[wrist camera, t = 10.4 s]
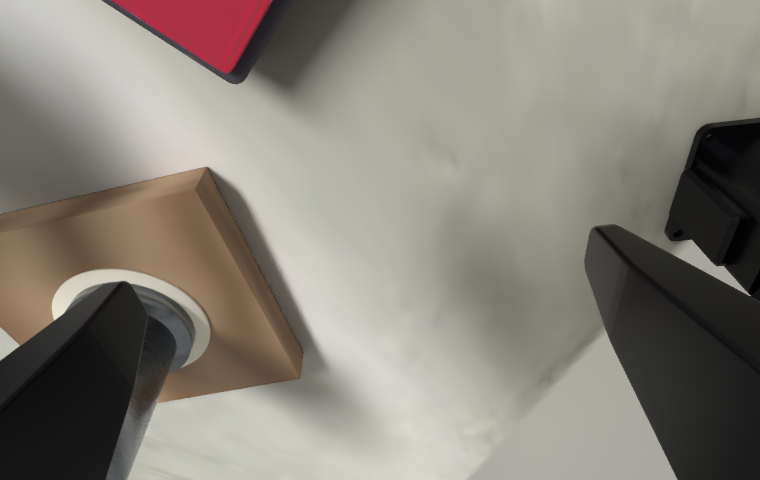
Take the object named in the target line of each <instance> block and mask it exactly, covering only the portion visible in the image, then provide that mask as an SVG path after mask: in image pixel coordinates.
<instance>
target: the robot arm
mask: <svg viewBox="0 0 760 480" xmlns="http://www.w3.org/2000/svg"><path fill="white" fill-rule="evenodd" d="M710 133H712V134H711V136H710V137H708V138H706V137H707V135H709V134H710ZM669 213H670V215H669V218H668V222H667V225H666V228H665V234H666V236H667V237H668V238H669V239H670V240H671V241H682V240H693V241H694V242H695V243H696V245H697V246H698V247H699V248H700V249H701V250H702V251H703V253H704V254H705V255H706V256H707V257H708V258H709V259H710V261H711V262H713V264H715V265H716V266H724V267H725V268H726V269H727V270H728V271H729V272H730V273H731V275H732V276H733V277H734V278H735V279H736V280H737V281H738V282H739V284H740V285H741V286H742V287H743V288H744V289H745V290H746V291H747V292H748V293H749V294H750V295H751V296H748V295H747V294H745V293H743V292H741V291H739V290H737V289H735V288H733V287H732V286H730V285H728V284H726V283H724V282H722V281H720V280H719V279H717V278H715V277H713V276H711V275H709V274H707V273H706V272H704V271H702V270H700V269H698V268H696V267H694V266H692V265H691V264H689V263H687V262H685V261H683V260H681V259H679V258H678V257H676V256H674V255H672V254H670V253H668V252H666V251H665V250H663V249H661V248H659V247H657V246H655V245H653V244H652V243H650V242H648V241H646V240H644V239H642V238H640V237H638V236H637V235H635V234H633V233H631V232H629V231H627V230H625V229H624V228H622V227H620V226H618V225H615V224H609V225H600V226H595V227H593V228H592V229H591V231H590V234H589V239H588V244H587V249H586V254H585V260H584V264H585V271H586V274H587V277H588V280H589V282H590V285H591V288H592V291H593V294H594V297H595V300H596V303H597V306H598V309H599V311H600V314H601V317H602V320H603V323H604V326H605V329H606V331H607V334H608V337H609V339H610V341H611V344H612V346H613V348H614V350H615V352H616V354H617V356H618V358H619V361H620V363H621V365H622V367H623V368H624V371H625V373H626V375H627V377H628V379H629V381H630V383H631V385H632V387H633V389H634V391H635V393H636V395H637V397H638V400H639V402H640V404H641V406H642V408H643V410H644V412H645V414H646V416H647V418H648V420H649V422H650V424H651V426H652V428H653V430H654V432H655V434H656V436H657V438H658V441H659V443H660V445H661V447H662V449H663V451H664V453H665V455H666V457H667V459H668V461H669V463H670V465H671V467H672V469H673V471H674V473H675V475H676V477H677V479H678V480H760V118H755V119H746V120H737V121H728V122H719V123H710V124H706V125H704V126H702V127H701V128H700V129H699V130H698V131H697V133H696V135H695V138H694V141H693V144H692V147H691V150H690V153H689V156H688V159H687V163H686V166H685V169H684V171H683V173H682V175H681V178H680V181H679V184H678V187H677V190H676V193H675V197H674V200H673V203H672V206H671V209H670V212H669ZM677 230H678V231H677ZM676 231H677V232H676ZM674 232H675V233H674ZM147 320H148V316H147V311H146V308H145V306H144V305H143V303H142V301H141V300H140V298H139V296H138V295H137V293H136V291H135V290H134V288H133V287H132V285H131V284H130V283H129V282H127V281H116V282H108V283H105V284H103V285H101V286H100V287H99V288H97V289H96V290H95V291H93V292H92V293H91V294H89V295H88V296H87V297H85V298H84V299H83V300H81V301H80V302H79V303H77V304H76V305H75V306H73V307H72V308H71V309H69V310H68V311H67V312H65V313H64V314H62V315H61V316H60V317H58V318H57V319H56V320H54V321H53V322H52V323H50V324H49V325H48V326H46V327H45V328H44V329H42V330H41V331H40V332H38V333H37V334H36V335H34V336H33V337H32V338H30V339H29V340H28V341H26V342H25V343H23V344H22V345H21V346H19V347H18V348H17V349H15V350H14V351H13V352H11V353H10V354H9V355H7V356H6V357H5V358H3V359H2V360H1V361H0V480H106V478H107V475H108V471H109V468H110V465H111V462H112V459H113V455H114V452H115V449H116V446H117V443H118V439H119V436H120V433H121V430H122V427H123V423H124V420H125V417H126V414H127V411H128V407H129V404H130V401H131V397H132V394H133V390H134V386H135V382H136V378H137V372H138V367H139V362H140V357H141V352H142V347H143V341H144V336H145V331H146V326H147Z"/></svg>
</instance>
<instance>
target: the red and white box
mask: <svg viewBox="0 0 760 480" xmlns="http://www.w3.org/2000/svg"><path fill="white" fill-rule="evenodd" d="M102 1H103V2H105V3H107V4H108V5H110V6H111V7H113V8H114V9H116V10H117V11H119V12H120V13H122V14H124V15H125V16H127V17H128V18H130V19H131V20H133V21H134V22H136V23H137V24H139V25H141V26H142V27H144V28H145V29H147V30H148V31H150V32H151V33H153V34H154V35H156V36H158V37H159V38H161V39H162V40H164V41H165V42H167V43H168V44H170V45H171V46H173V47H175V48H176V49H178V50H179V51H181V52H182V53H184V54H185V55H187V56H188V57H190V58H192V59H193V60H195V61H196V62H198V63H199V64H201V65H202V66H204V67H205V68H207V69H209V70H210V71H212V72H213V73H215V74H216V75H218V76H219V77H221V78H222V79H224V80H226V81H227V82H229V83H232V84H239V83H241V82H243V81H244V80H245V78H246V77H247V76H248V74H249V72H250V71H251V69H252V67H253V66H254V64H255V62H256V61H257V59H258V57H259V56H260V54H261V52H262V51H263V49H264V47H265V45H266V44H267V42H268V40H269V39H270V37H271V35H272V34H273V32H274V30H275V29H276V27H277V25H278V24H279V22H280V20H281V19H282V17H283V15H284V14H285V12H286V10H287V8H288V7H289V5H290V3H291V2H292V0H102Z"/></svg>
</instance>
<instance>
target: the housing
mask: <svg viewBox="0 0 760 480" xmlns="http://www.w3.org/2000/svg"><path fill="white" fill-rule="evenodd" d="M103 284H105V283H102V284H98V285H94V286H91V287H88V288H86V289H84V290H83V291H81V292H80V293H79V294H77V296H76V297H75V298H74V299H73V301H72V302H71V303H70V305H69V306H68V308H67V309H66V311H65V312H67V311H68V310H69V309H71V308H72V307H73V306H75V305H76V304H77V303H79V302H80V301H81V300H83V299H84V298H85V297H87V296H88V295H89V294H91V293H92V292H93V291H95V290H96V289H97V288H99V287H100V286H101V285H103ZM131 285H132V287H133V288H134V290H135V291H136V293H137V295H138V296H139V298H140V300H141V301H142V303H143V305H144V306H145V308H146V311H147V316H148V320H147V326H146V331H145V336H144V341H143V347H142V352H141V357H140V362H139V367H138V372H137V378H136V382H135V386H134V390H133V394H132V397H131V401H130V404H129V407H128V411H127V414H126V417H125V420H124V423H123V427H122V430H121V433H120V436H119V439H118V443H117V446H116V449H115V452H114V455H113V459H112V462H111V465H110V468H109V471H108V475H107V478H106V480H127V479H128V476H129V473H130V471H131V468H132V466H133V463H134V460H135V458H136V455H137V453H138V450H139V447H140V445H141V442H142V440H143V437H144V434H145V432H146V429H147V427H148V424H149V421H150V419H151V416H152V414H153V411H154V408H155V406H156V403H157V401H158V398H159V396H160V393H161V390H162V388H163V385H164V383H165V380H166V377H167V375H168V374H170V373H172V372H174V371H176V370H178V369H179V368H181V367H182V366H183V365H184V364H185V363H186V361H187V359H188V358H189V355H190V352H191V349H192V347H193V344H194V341H195V335H196V332H195V327H194V324H193V321H192V319H191V318H190V316H189V315H188V313H187V312H186V311H185V310H184V309H183V308H182V307H181V306H180V305H179V304H178V303H176V302H175V301H174V300H172V299H171V298H169V297H167V296H166V295H164V294H162V293H160V292H157V291H155V290H153V289H150V288H147V287H144V286H140V285H135V284H131ZM65 312H64V313H65Z"/></svg>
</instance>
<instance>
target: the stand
mask: <svg viewBox="0 0 760 480" xmlns="http://www.w3.org/2000/svg"><path fill="white" fill-rule="evenodd" d="M116 281H127V282H129V283H130V284H135V285H140V286H144V287H147V288H150V289H153V290H155V291H157V292H160V293H162V294H164V295H166V296H167V297H169V298H171V299H172V300H174V301H175V302H176V303H178V304H179V305H180V306H181V307H182V308H183V309H184V310H185V311H186V312H187V313H188V315H189V316H190V318H191V319H192V321H193V324H194V327H195V332H196V335H195V341H194V344H193V347H192V349H191V352H190V355H189V358H188V359H187V361H186V363H185V364H184V365H183V366H182V367H181V368H179V369H178V370H176V371H174V372H172V373H170V374H168V375H167V377H166V380H165V383H164V385H163V388H162V390H161V393H160V396H159V398H158V401H157V403H160V402H166V401H172V400H177V399H183V398H189V397H195V396H201V395H207V394H212V393H218V392H224V391H230V390H236V389H242V388H247V387H253V386H259V385H265V384H271V383H277V382H282V381H288V380H294V379H300V376H301V368H302V359H303V351H302V349H301V347H300V345H299V343H298V341H297V339H296V337H295V335H294V333H293V332H292V330H291V328H290V326H289V324H288V322H287V320H286V318H285V316H284V314H283V312H282V310H281V309H280V307H279V305H278V303H277V301H276V299H275V297H274V295H273V293H272V291H271V289H270V287H269V285H268V284H267V282H266V280H265V278H264V276H263V274H262V272H261V270H260V268H259V266H258V264H257V262H256V261H255V259H254V257H253V255H252V253H251V251H250V249H249V247H248V245H247V243H246V241H245V239H244V237H243V236H242V234H241V232H240V230H239V228H238V226H237V224H236V222H235V220H234V218H233V216H232V214H231V213H230V211H229V209H228V207H227V205H226V203H225V201H224V199H223V197H222V195H221V193H220V191H219V190H218V188H217V186H216V184H215V182H214V180H213V178H212V176H211V174H210V172H209V170H208V168H207V167H203V168H199V169H195V170H190V171H186V172H182V173H177V174H173V175H169V176H164V177H160V178H156V179H152V180H147V181H143V182H139V183H134V184H130V185H126V186H121V187H117V188H113V189H108V190H104V191H100V192H95V193H91V194H87V195H82V196H78V197H74V198H70V199H65V200H61V201H57V202H52V203H48V204H44V205H39V206H35V207H31V208H26V209H22V210H18V211H13V212H9V213H5V214H0V327H1V328H2V329H3V330H4V331H5V332H6V333H7V334H9V335H10V336H11V337H12V338H13V339H14V340H15V341H16V342H17V343H18V344H19V345H20V346H21V345H22V344H23V343H25V342H26V341H28V340H29V339H30V338H32V337H33V336H34V335H36V334H37V333H38V332H40V331H41V330H42V329H44V328H45V327H46V326H48V325H49V324H50V323H52V322H53V321H54V320H56V319H57V318H58V317H60V316H61V315H62V314H64V312H65V311H66V309H67V308H68V306H69V305H70V303H71V302H72V301H73V299H74V298H75V297H76V296H77V294H79V293H80V292H81V291H83V290H84V289H86V288H88V287H91V286H94V285H98V284H102V283H108V282H116Z"/></svg>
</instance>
